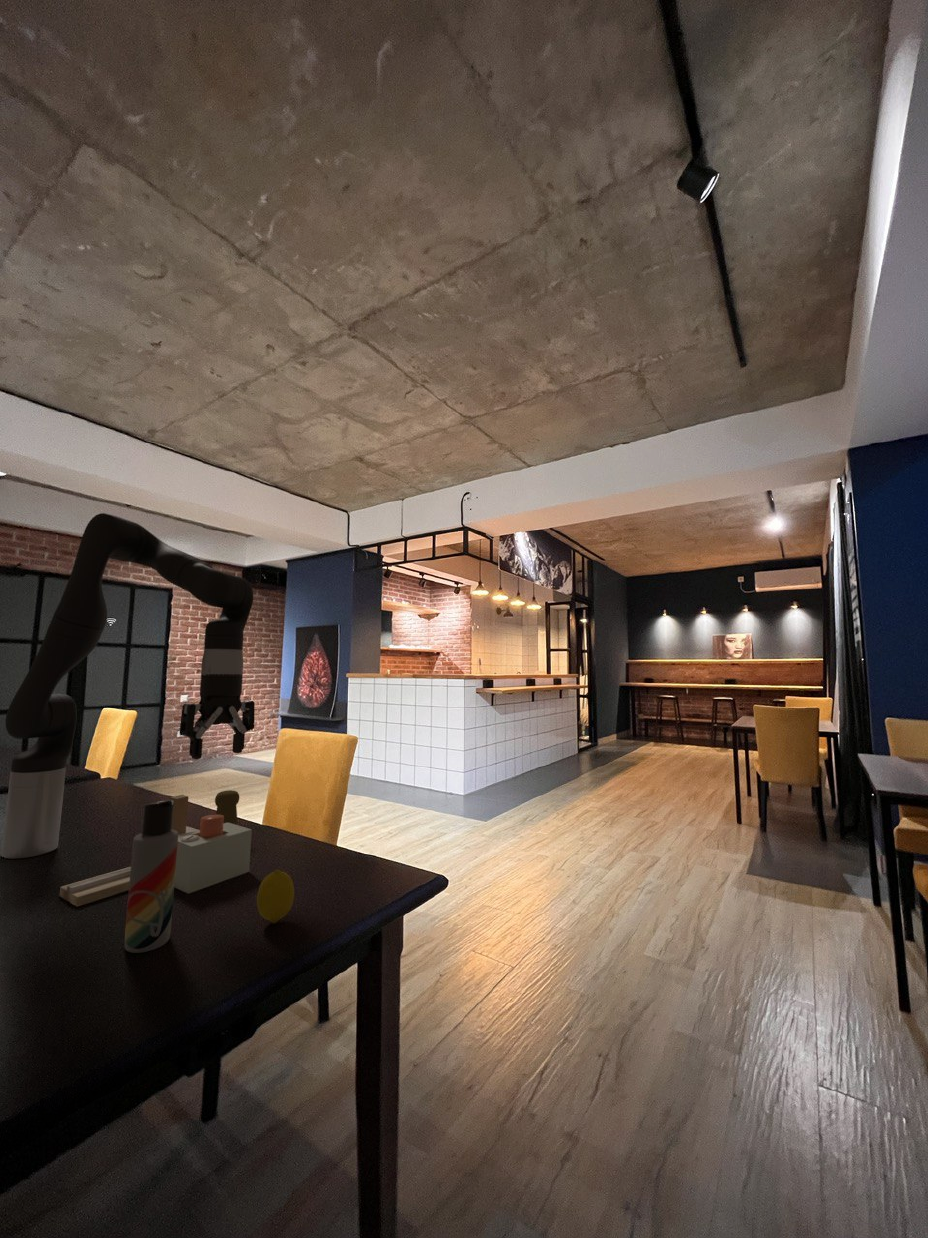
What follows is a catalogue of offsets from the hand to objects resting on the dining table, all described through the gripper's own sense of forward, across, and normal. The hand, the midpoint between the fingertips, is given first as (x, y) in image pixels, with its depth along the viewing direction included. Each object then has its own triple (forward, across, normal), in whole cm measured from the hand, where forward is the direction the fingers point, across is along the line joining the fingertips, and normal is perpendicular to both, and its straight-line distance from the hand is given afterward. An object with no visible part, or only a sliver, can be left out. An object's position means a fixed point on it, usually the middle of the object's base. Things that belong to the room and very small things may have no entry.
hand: (217, 755), depth 98 cm
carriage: (+20, +2, -10) cm, 22 cm away
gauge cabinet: (+23, 0, 0) cm, 23 cm away
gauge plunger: (+18, 0, 0) cm, 18 cm away
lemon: (+23, +4, +25) cm, 34 cm away
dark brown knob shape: (+23, -14, -17) cm, 32 cm away
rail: (+23, +7, -10) cm, 25 cm away
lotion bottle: (+23, +18, +15) cm, 33 cm away
